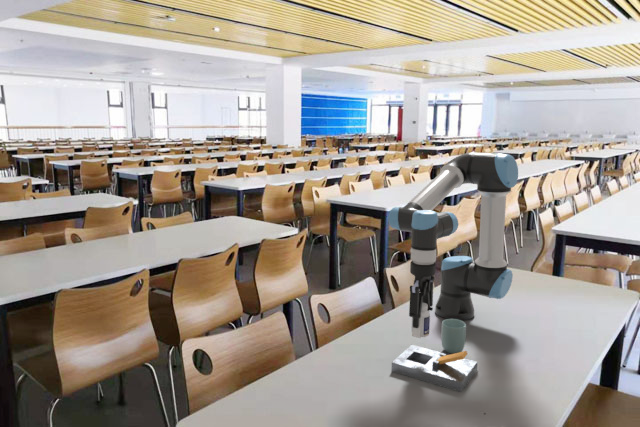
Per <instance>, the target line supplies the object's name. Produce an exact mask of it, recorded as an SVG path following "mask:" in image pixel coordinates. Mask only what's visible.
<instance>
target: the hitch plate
mask: <svg viewBox="0 0 640 427" xmlns="http://www.w3.org/2000/svg"><path fill="white" fill-rule="evenodd" d="M446 355H450V353H447V352H446V353H445V352H441V351H437V350H434V349H430V348H426V347H423V346H418V345H415V344H411V345H410V346H409V347H407V348H406V349H405V350H404V351H403V352H402V353H401V354H400V355H398V356H397V357H396V358H394V360H393V361H392V362H391V372H392V373H396V374H400V375H403V376H406V377H409V378H412V379H416V380H420V381H423V382H426V383H430V384H434V385H436V386H440V387H442V388H446V389H450V390H452V391H457V392H460V393H462V391H463V390H464V389H465V387H466V386H467V385H468V384H469V382H470V381H471V380H472V378H473V377H474V375H475V374H476V373H477V372H478V361H475V360H471V359H468V358H466V357H465V358H464V359H461V360H457V361H452V362H448V363H443V364H439V361H435V360H436V359H437V358H438V357H439V356H446Z"/></svg>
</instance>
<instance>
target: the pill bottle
mask: <svg viewBox="0 0 640 427" xmlns="http://www.w3.org/2000/svg"><path fill="white" fill-rule="evenodd" d="M427 309H428V304H426V303H423V302H422V309H421V316H420V317H422V323H421V338H426V337H428V336H429V335H430V321H431V314H430V313H431V312H430V310H429V311H428V310H427Z"/></svg>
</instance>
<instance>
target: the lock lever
mask: <svg viewBox="0 0 640 427" xmlns="http://www.w3.org/2000/svg"><path fill="white" fill-rule="evenodd" d="M467 355H468V351H467V350H462V351H461V352H459V353H455V354H451V353H449V355H446V356H439V357H438V358H437V359H436V360H435V361H439V364H443V363H448V362H452V361H457V360H461V359H464V358H465V359H466V357H467Z"/></svg>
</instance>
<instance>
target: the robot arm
mask: <svg viewBox="0 0 640 427" xmlns="http://www.w3.org/2000/svg"><path fill="white" fill-rule="evenodd" d="M518 179H519V167H518V163H517V161H516V159H515V157H514V156H513V155H511V154H507V153H501V152H500V153H499V152H476V151H470V152H467V153H462V154H460V155H458V156H456V157H454V158H452V159H451V160H449V161H448V162H447V163H446V164H444V165H443V166H442V167H441V168H440V170H439V174H438V175H436V176H435V177H434V178H433V179H432V180H431V181H430V182H428V184H427V185H426V186H425V187H423V189H421V190H420V191H419V192H418V193H417V194H416V195H415V196H414V197H413V198H412V199H411V200H410V201H409V202H408V203H407V204H406V205H404V206H403V207H402V206H395V207H392V208H391V209H390V211H389V214H388V218H387V219H388V220H387V221H388V225H389V226H390V228H391V229H394V230H398V231H401V232H408V233H409V232H410V233H411V246H410V250H409V252H410V260H411V261H410V271H409V272H410V274H411V275H412V276H414V280H413V285H410V286H409V312H408V316H409V317H410V318H411V337H413V338H418V339H421V338H422V337H421V323H422V317H420V316H421V309H422V302H423V303H426V304H428V309H427V310H428V311H429V312H430V311H433V309H434V308H433V306H434V305H433V303H434V302H433V301H434V283H435V282H434V280H435V275H436V268H437V267H436V266H437V265H436V261H437V244H438V243H437V241H438V240H439V239H441V238H445V237H449V236H451V235H452V234H454V233H456V232H457V230H458V228H459V219H458V217H457V216H456V214H454V213H453V212H451V211H441V212H436V211H434V209H435V208H436V207H437V206H438V205H439V204H440V203H441V202H442V201H443V200H444V199H445V198H446V197H447V196H448V195H449V194H450V193H451V192H453V190H455V189H458V188H460V187H461V186H462V185H465V184H471V185H472V184H473V185H476V186H477V187H476V190H477V192H478V193H479V194H480V217H479V218H480V221H479V222H480V223H479V244H478V246H479V247H478V257H477V258H475V260H474V259H473V257H471V256H469V255H454V256H448V257H446V258H444V259H442V261H441V268H440V271H441V272H440V293H439V296H438V299H437V301H436V304H435V309H434V312H435V314H436V315H437V316H438V317H441V318H442V319H445V320H446V319H458V320H461V321H466V320H467V321H468V320H470V318H471V319H472V318H474V316H475V307H474V304H473V300H472V297H471V296H472V295H471V294H474V295H479V296H483V297H487V298H489V299H496V300H501V299H503V298H505V296H507V294H508V293H509V290H510V288H511V286H512V282H513V277H514V276H513V271H512V270H511V269H510V268H508V262H507V261H506V260H505V259H504V246H505V245H504V244H505V226H506V225H505V223H506V207H507V206H506V204H507V196H508V195H509V193H510V192H512V188H514V187H515V186H516V185H517V183H518Z"/></svg>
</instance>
